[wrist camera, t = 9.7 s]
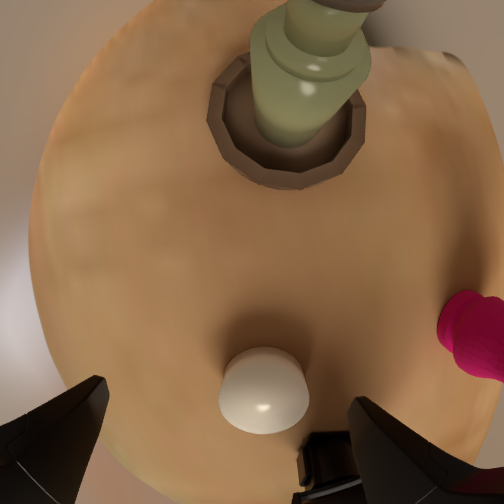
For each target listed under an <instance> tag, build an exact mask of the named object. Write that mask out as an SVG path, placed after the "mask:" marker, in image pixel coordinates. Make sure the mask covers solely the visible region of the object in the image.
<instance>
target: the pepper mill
mask: <svg viewBox="0 0 504 504" xmlns="http://www.w3.org/2000/svg"><path fill="white" fill-rule="evenodd" d="M437 334H438V339H439V341H440V343H441V344H442V345H443V346H444V347H445V348H446V349H447V350H449V351H450V352H451V353H453V356H454V359H455V362H456V364H457V365H458V367H459V368H461V369H462V370H463V371H465V372H466V373H468V374H470V375H473V376H476V377H481V378H491V379H496V380H498V381H501V382H503V383H504V301H503V300H501V299H500V298H498V297H494V296H491V297H485V298H484V297H483V296H482V295H480V294H478V293H476V292H474V291H472V290H463V291H461V292H459V293H457V294H456V295H454V296H453V297H452V298H451V299H450V300H449V301H448V303H447V304H446V306H445V307H444V309H443V311H442V313H441V315H440V319H439V322H438V328H437Z"/></svg>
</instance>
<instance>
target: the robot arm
mask: <svg viewBox="0 0 504 504" xmlns="http://www.w3.org/2000/svg"><path fill="white" fill-rule="evenodd" d="M108 401H109V390H108V386H107V382H106V379H105V378H104V377H101V376H98V375H93V376H91V377H90V378H88V379H86V380H85V381H83V382H81V383H79V384H78V385H76V386H74V387H72V388H71V389H69V390H67V391H66V392H64V393H62V394H60V395H58V396H57V397H55V398H53V399H51V400H50V401H48V402H46V403H45V404H42V405H41V406H39V407H37V408H35V409H34V410H32V411H30V412H28V413H27V414H24V415H22V416H21V417H19V418H17V419H15V420H13V421H11V422H9V423H6V424H4V425H1V426H0V504H75V500H76V497H77V494H78V491H79V488H80V485H81V482H82V479H83V476H84V474H85V471H86V467H87V465H88V462H89V460H90V457H91V454H92V452H93V449H94V446H95V444H96V441H97V439H98V436H99V433H100V430H101V427H102V423H103V419H104V415H105V412H106V408H107V405H108ZM347 420H348V425H349V432H330V433H312V434H310V435H309V436H308V439H307V441H306V444H305V446H304V447H303V448H302V449H301V451H300V453H299V456H298V458H297V467H298V476H299V485H300V486H301V487H305V491H304V492H300V493H299V492H297V493H293V499H292V503H291V504H504V467H499V468H492V469H480V468H477V467H474V466H472V465H470V464H468V463H466V462H464V461H462V460H460V459H458V458H456V457H454V456H452V455H450V454H448V453H446V452H445V451H443V450H441V449H440V448H438V447H437V446H435V445H434V444H432V443H431V442H428V441H427V440H426V439H425V438H423V437H422V436H420V435H419V434H417V433H416V432H414V431H413V430H411V429H410V428H409V427H407V426H406V425H404V424H403V423H401V422H400V421H399V420H397V419H396V418H394V417H393V416H392V415H390V414H389V413H387V412H386V411H385V410H383V409H382V408H381V407H379V406H378V405H377V404H375V403H374V402H372V401H371V400H370V399H368V398H367V397H365V396H360V397H355V398H354V399H353V401H352V403H351V405H350V407H349V409H348V412H347Z"/></svg>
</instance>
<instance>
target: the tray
mask: <svg viewBox="0 0 504 504" xmlns="http://www.w3.org/2000/svg"><path fill="white" fill-rule="evenodd" d="M206 121H207V123H208V126H209V128H210V130H211V132H212V135H213V137H214V139H215V142H216V144H217V146H218V148H219V150H220V153H221V155H222V157H223V159H224V160H225V161H226V162H228V163H229V164H230V165H231V166H232V167H233V168H234V169H235V170H237V171H238V172H239V173H240V174H241V175H243V176H245V177H246V178H248V179H249V180H251V181H253V182H255V183H257V184H258V185H263V186H266V187H270V188H275V189H282V190H302V189H304V188H308V187H311V186H314V185H317V184H320V183H322V182H324V181H326V180H328V179H330V178H332V177H335V176H337V175H340V174H342V173H343V172H344V170H345V169H346V168H347V166H348V165H349V163H350V162H351V161H352V159H353V158H354V157H355V155H356V154H357V152H358V151H359V150H360V148H361V147H362V146H363V144H364V142H365V122H366V105H365V103H364V101H363V99H362V97H361V95H360V93H359V92H358V90H356V91H355V92H354V93H353V94H352V95H351V96H350V97H349V99H348V100H347V101H346V102H345V103H344V104H343V105H342V106H341V108H340V109H339V110H338V111H337V112H336V113H335V114H334V115H333V117H332V118H331V119H330V120H329V121H328V122H327V123H326V125H325V126H324V127H323V128H322V129H321V130H320V131H319V133H318V134H317V135H316V136H315V137H314V138H313V139H312V140H311V141H310V142H309V143H307V144H305V145H303V146H301V147H297V148H282V147H278V146H275V145H273V144H271V143H270V142H268V141H267V140H265V139H264V138H263V137H262V136H261V134H260V133H259V132H258V130H257V128H256V125H255V121H254V108H253V91H252V74H251V57H250V52H249V53H246V54H243V55H240V56H238V57H237V58H236V59H235V60H234V61H233V62H232V63H231V64H230V65H229V66H228V67H227V68H226V69H225V71H224V72H223V73H222V74H221V75H220V76H219V77H218V78H217V79H216V80H215V82H214V83H213V84H212V90H211V96H210V101H209V107H208V113H207V119H206Z"/></svg>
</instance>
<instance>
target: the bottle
mask: <svg viewBox="0 0 504 504" xmlns="http://www.w3.org/2000/svg"><path fill="white" fill-rule="evenodd" d="M385 1H386V0H287V3H285V4H283V5H281V6H279V7H278V8H276V9H274V10H272V11H270V12H268V13H267V14H265V15H264V16H262V17H261V18H260V19H259V20H258V21H257V23H256V24H255V25H254V27H253V29H252V31H251V35H250V57H251V74H252V91H253V108H254V121H255V125H256V128H257V130H258V132H259V133H260V134H261V136H262V137H263V138H264V139H265V140H267V141H268V142H270V143H271V144H273V145H275V146H278V147H282V148H297V147H301V146H303V145H305V144H307V143H309V142H310V141H311V140H312V139H313V138H314V137H315V136H316V135H317V134H318V133H319V131H320V130H321V129H322V128H323V127H324V126H325V125H326V123H327V122H328V121H329V120H330V119H331V118H332V117H333V115H334V114H335V113H336V112H337V111H338V110H339V109H340V108H341V106H342V105H343V104H344V103H345V102H346V101H347V100H348V99H349V97H350V96H351V95H352V94H353V93H354V92H355V91H356V90H357V89H358V87H359V86H360V85H361V84H362V83H363V82H364V81H365V79H366V78H367V76H368V74H369V72H370V68H371V53H370V49H369V46H368V44H367V42H366V40H365V38H364V34H363V32H362V31H361V28H360V27H361V25H362V23H363V22H364V20H365V19H366V17H367V15H368V14H369V12H372V11H375V10H377V9H379V8H380V7H382V5H383V4H384V2H385Z"/></svg>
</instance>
